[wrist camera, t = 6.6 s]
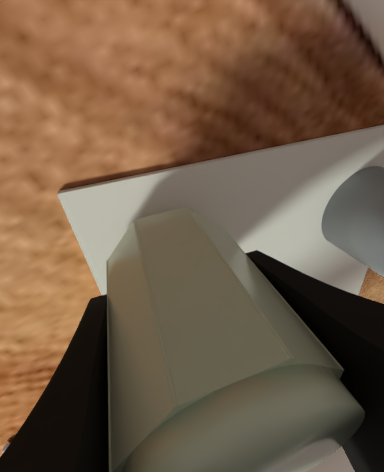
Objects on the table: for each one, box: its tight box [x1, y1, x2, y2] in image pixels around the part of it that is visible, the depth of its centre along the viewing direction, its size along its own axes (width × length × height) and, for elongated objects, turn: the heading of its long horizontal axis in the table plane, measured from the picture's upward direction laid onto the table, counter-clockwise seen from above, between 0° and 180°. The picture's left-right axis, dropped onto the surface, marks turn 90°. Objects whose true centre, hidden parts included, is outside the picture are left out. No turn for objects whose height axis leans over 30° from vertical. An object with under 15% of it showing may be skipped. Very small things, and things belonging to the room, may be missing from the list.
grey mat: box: [57, 125, 384, 295], centre depth 17 cm, size 20×18×1 cm
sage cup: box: [106, 206, 365, 472], centre depth 9 cm, size 6×6×8 cm
